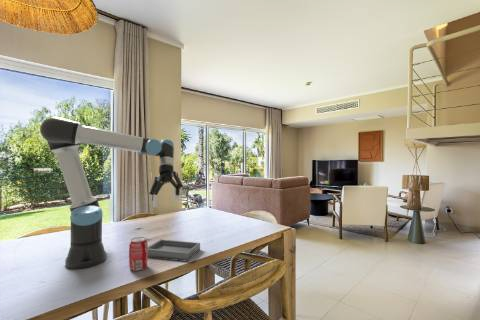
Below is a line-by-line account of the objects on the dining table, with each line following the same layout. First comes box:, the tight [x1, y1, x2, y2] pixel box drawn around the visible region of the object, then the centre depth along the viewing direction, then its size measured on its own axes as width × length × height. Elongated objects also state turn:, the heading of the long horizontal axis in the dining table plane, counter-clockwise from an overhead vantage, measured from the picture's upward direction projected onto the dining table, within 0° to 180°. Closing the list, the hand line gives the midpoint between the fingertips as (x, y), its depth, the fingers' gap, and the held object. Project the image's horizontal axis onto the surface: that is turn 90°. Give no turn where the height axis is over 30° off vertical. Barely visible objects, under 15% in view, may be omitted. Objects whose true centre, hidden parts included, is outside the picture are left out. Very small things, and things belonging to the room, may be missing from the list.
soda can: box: [128, 236, 149, 272], centre depth 100 cm, size 7×7×12 cm
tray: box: [148, 238, 201, 262], centre depth 116 cm, size 22×14×4 cm, turn 77°
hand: (165, 204), depth 123 cm, fingers open, 13 cm apart
